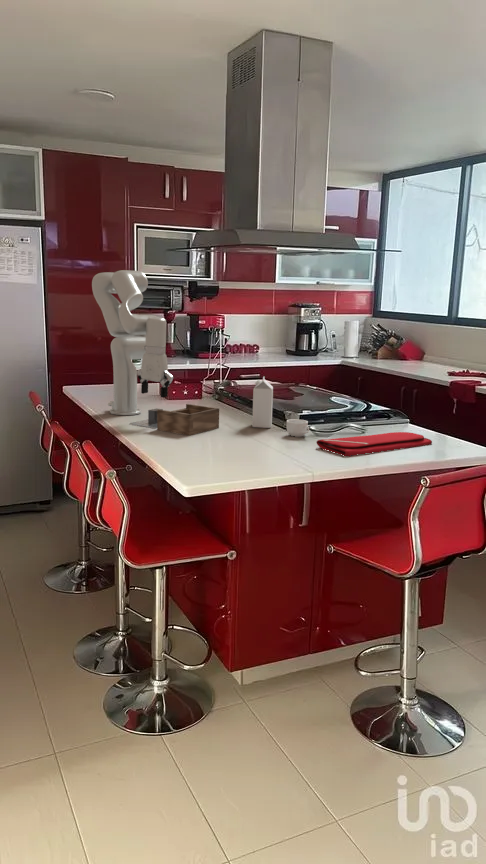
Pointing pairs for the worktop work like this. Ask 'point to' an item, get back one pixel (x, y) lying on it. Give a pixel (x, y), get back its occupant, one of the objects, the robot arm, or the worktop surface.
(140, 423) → the cover plate
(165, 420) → the walnut box
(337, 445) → the dish drying mat
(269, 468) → the worktop surface
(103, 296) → the robot arm
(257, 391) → the milk carton
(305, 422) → the teacup
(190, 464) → the worktop surface
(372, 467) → the worktop surface
